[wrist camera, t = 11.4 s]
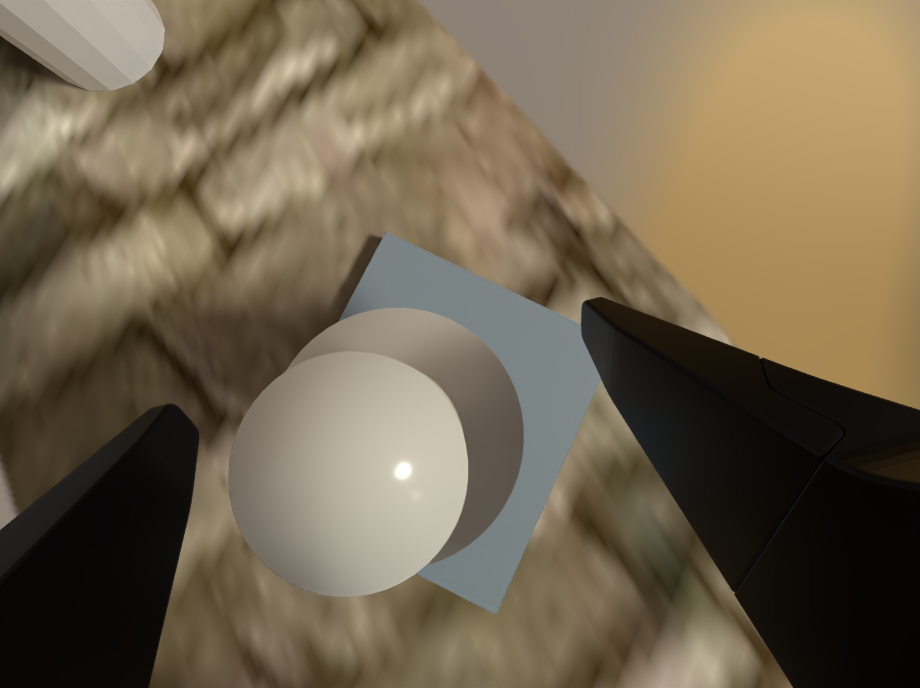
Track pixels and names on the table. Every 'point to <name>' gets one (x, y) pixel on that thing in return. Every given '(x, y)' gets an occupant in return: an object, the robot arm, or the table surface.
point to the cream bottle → (376, 453)
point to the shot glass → (87, 38)
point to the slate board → (534, 378)
